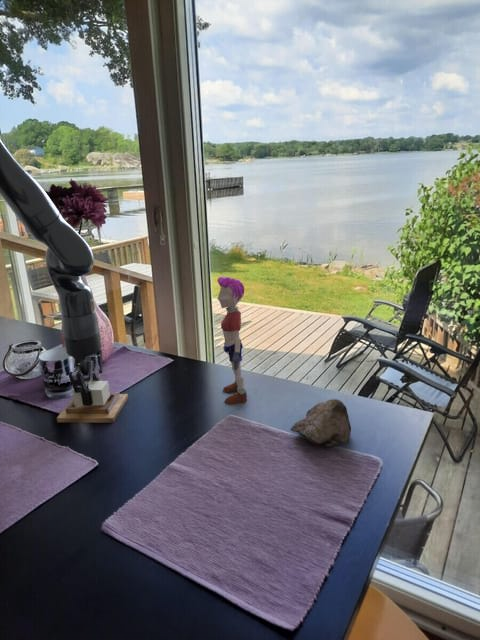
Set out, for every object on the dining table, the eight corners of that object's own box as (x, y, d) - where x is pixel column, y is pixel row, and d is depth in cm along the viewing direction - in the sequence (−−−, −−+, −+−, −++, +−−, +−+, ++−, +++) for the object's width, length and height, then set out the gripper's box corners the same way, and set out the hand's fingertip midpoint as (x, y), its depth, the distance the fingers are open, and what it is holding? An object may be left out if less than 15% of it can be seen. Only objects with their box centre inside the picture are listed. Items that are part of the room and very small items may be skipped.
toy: (220, 381, 116) (214, 269, 106) (244, 379, 117) (240, 268, 106) (224, 413, 101) (218, 286, 91) (252, 410, 102) (248, 284, 92)
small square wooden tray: (57, 422, 100) (55, 413, 99) (77, 397, 110) (75, 389, 109) (113, 422, 99) (112, 413, 98) (128, 398, 109) (127, 389, 108)
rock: (288, 436, 97) (275, 401, 93) (332, 412, 99) (321, 376, 95) (317, 472, 85) (304, 433, 81) (366, 444, 88) (356, 405, 84)
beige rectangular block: (74, 405, 102) (71, 389, 100) (81, 395, 106) (79, 380, 104) (103, 405, 101) (101, 389, 100) (110, 395, 105) (108, 380, 104)
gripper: (77, 320, 105) (88, 385, 110) (50, 343, 91) (63, 415, 97) (108, 320, 104) (117, 385, 110) (85, 343, 91) (96, 416, 96)
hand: (92, 399), depth 103 cm, fingers closed on beige rectangular block, 4 cm apart
